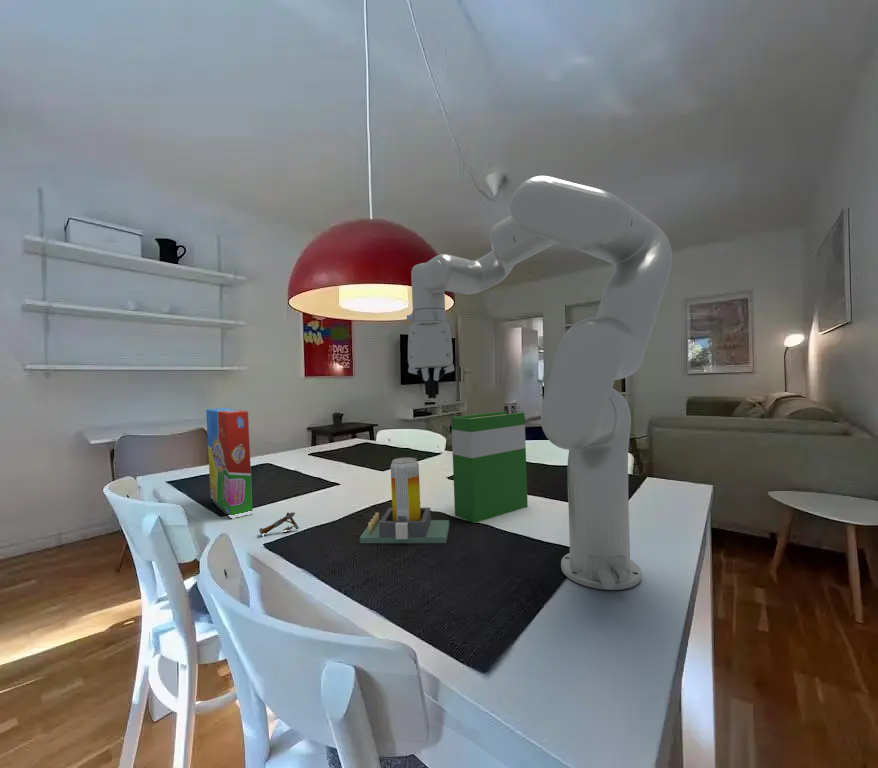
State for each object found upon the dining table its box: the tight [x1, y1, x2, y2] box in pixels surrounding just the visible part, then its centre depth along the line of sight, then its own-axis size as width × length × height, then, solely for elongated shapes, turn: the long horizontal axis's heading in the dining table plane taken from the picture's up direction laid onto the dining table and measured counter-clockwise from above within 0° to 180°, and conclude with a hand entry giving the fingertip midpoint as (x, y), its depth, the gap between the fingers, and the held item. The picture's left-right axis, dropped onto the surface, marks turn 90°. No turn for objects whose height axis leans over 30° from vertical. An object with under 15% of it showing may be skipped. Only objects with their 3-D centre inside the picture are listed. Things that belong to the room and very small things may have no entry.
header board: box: [359, 507, 450, 544], centre depth 90 cm, size 11×18×4 cm, turn 85°
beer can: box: [390, 457, 421, 521], centre depth 90 cm, size 6×6×15 cm
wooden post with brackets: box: [258, 511, 300, 535], centre depth 94 cm, size 2×8×4 cm, turn 109°
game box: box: [205, 407, 253, 515], centre depth 113 cm, size 21×6×27 cm, turn 42°
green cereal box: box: [450, 410, 529, 524], centre depth 103 cm, size 18×7×24 cm, turn 125°
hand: (432, 397), depth 96 cm, fingers closed
